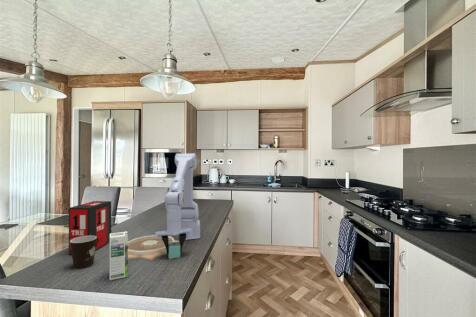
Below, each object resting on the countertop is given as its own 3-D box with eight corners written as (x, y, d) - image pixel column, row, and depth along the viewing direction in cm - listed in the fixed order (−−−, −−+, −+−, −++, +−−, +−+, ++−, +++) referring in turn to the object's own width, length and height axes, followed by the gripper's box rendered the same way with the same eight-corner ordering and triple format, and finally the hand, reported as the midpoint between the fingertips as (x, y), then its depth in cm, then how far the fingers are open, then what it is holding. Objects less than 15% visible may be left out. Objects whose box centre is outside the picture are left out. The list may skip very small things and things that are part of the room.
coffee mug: (76, 272, 85) (76, 244, 86) (65, 266, 90) (65, 240, 90) (108, 260, 95) (108, 235, 95) (97, 256, 100) (97, 232, 100)
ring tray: (179, 234, 129) (179, 229, 130) (189, 254, 101) (189, 249, 101) (116, 241, 118) (116, 236, 118) (108, 267, 90) (108, 260, 90)
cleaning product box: (89, 255, 101) (89, 208, 101) (68, 254, 101) (68, 207, 102) (111, 241, 118) (111, 201, 118) (93, 241, 118) (93, 201, 118)
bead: (178, 253, 103) (178, 241, 103) (180, 257, 99) (180, 245, 99) (167, 254, 101) (167, 243, 101) (168, 258, 97) (168, 246, 97)
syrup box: (109, 281, 79) (109, 237, 79) (109, 273, 85) (109, 232, 85) (128, 277, 82) (128, 234, 82) (127, 270, 87) (127, 230, 87)
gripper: (156, 224, 94) (156, 258, 94) (193, 220, 99) (193, 253, 99) (155, 220, 100) (155, 252, 100) (189, 216, 106) (189, 247, 106)
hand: (173, 252), depth 100 cm, fingers closed on bead, 4 cm apart
